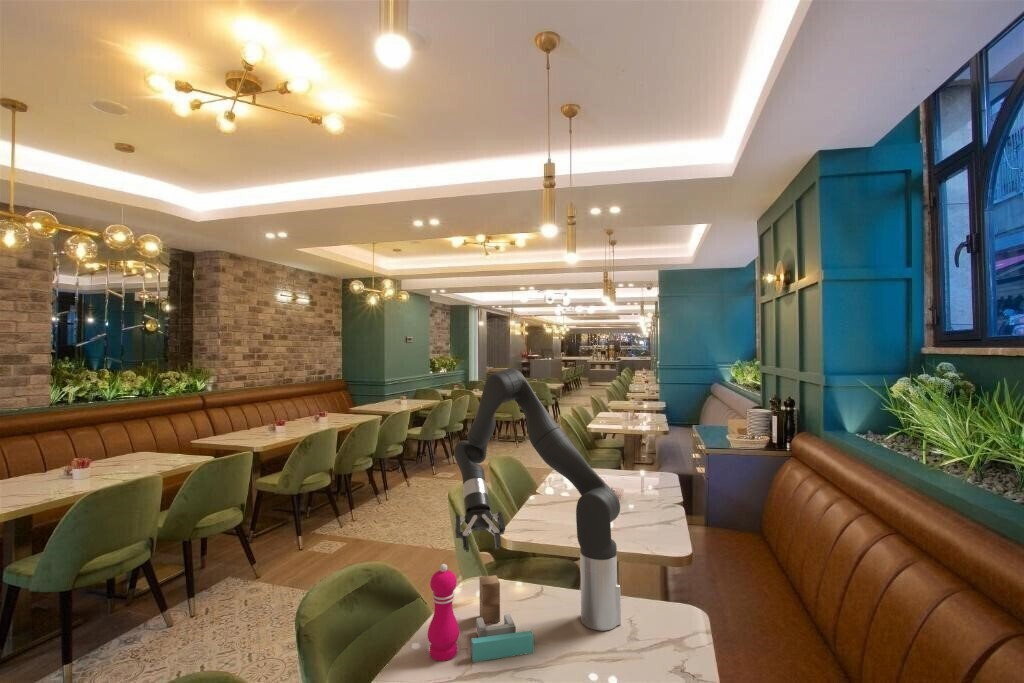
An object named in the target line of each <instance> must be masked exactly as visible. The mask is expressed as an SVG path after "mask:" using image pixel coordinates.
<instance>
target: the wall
mask: <svg viewBox="0 0 1024 683" xmlns="http://www.w3.org/2000/svg"><path fill="white" fill-rule="evenodd" d="M534 639H535V638H534V634H533V631H532V630H526V631H519V632H518V631H517V632H516V633H509V634H502V635H495V636H487V637H480V638H479V637H475V638H471V660H472V662H473V663H475V662H476V661H477V662H482V661H481V660H483V661H489V660H488V659H490V660H495V658H497V659H502V657H504V658H508V657H507V656H510V657H514V656H513V655H517V656H520V655H519V654H524V655H526V654H525V653H530V654H534V653H533V652H535V651H534V647H535V645H534V644H535V643H534Z"/></svg>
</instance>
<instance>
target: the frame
mask: <svg viewBox="0 0 1024 683" xmlns="http://www.w3.org/2000/svg"><path fill="white" fill-rule="evenodd" d="M503 617H504V618H503V624H499V625H491V626H486V624H485V623H484V621H483V618H480V617H477V618H476V633H477V636H478V637H477V638H480V637H487V636H495V635H502V634H509V633H516V630H517V629H516V627H517V626H516V624H515V622H514V619H513V618H512V616H511V613H508V614H504V615H503Z"/></svg>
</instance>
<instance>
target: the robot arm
mask: <svg viewBox="0 0 1024 683" xmlns="http://www.w3.org/2000/svg"><path fill="white" fill-rule="evenodd" d="M511 401H515V403H517V404H518V406H519V407H520V409H521V410H522V412H523V413H524V416H525V419H526V426H527V427H526V429H527V434H528V439H529V442H530V444H531V446H532V447H533V448H534V450H535V451H536V452H537V454H538V455H539V456H540V458H541V459H542V460H543V461H544V463H545V464H546V465H548V466H549V467H550V468H552V469H553V470H554V471H556V472H557V473H559V474H560V475H562V476H563V477H564V478H565V479H566V480H568V481H569V482H570V483H571V484H572V485H573V486H574V487H575V489H576V490H577V491H578V493H579V495H580V497H579V498H578V500H577V503H576V509H575V520H576V536H577V542H578V545H579V547H580V549H579V550H580V553H579V556H580V558H579V560H580V619H581V624H582V625H584V627H586V628H589V629H591V630H594V631H609V630H613V629H614V628H616V627H617V626H620V625H622V608H621V606H622V604H621V602H622V600H621V595H622V594H621V586H620V584H619V583H618V560H617V559H618V558H617V557H618V555H617V554H618V553H617V551H618V550H617V549H618V546H617V544H616V541H615V540H614V539H613V538H612V530H611V529H612V527H611V523H612V522H614V521H615V520H616V519H617V518H618V516H619V515H620V512H621V503H620V500H619V498H618V495H617V494H616V493H615V491H614V490H613V489H612V488H611V487H610V486H609V485H608V484H607V483H606V482H605V481H604V479H602V477H600V475H598V473H597V472H596V471H595V470H594V469H593V468H592V467H591V465H590V464H589V463H588V461H586V459H585V458H584V456H583V455H582V454H581V452H580V451H579V450H578V449H577V448H576V446H575V445H574V444H573V442H572V441H571V439H570V438H569V437H568V435H567V434H566V433H565V432H564V430H563V429H562V428H561V426H560V425H559V424H558V423H557V422H556V420H555V419H554V418H553V417H552V416H551V414H550V413H549V412H548V410H547V409H546V407H545V406H544V404H543V403H542V402H541V401H540V399H539V398H538V396H537V394H536V393H535V391H534V390H533V388H532V386H531V384H530V383H529V382H528V380H527V379H526V377H525V376H524V375H523V373H522V372H521V371H520V370H518V369H516V368H514V367H511V368H510V367H509V368H506V369H502V370H499V371H496V372H493V373H491V374H490V375H489V376H488V377H487V378H486V380H485V382H484V386H483V389H482V393H481V398H480V401H479V406H478V410H477V412H476V415H475V418H474V420H473V421H472V424H471V426H470V428H469V430H468V432H467V435H466V436H467V440H459V441H458V442H456V444H455V445H454V449H453V453H454V454H453V455H454V459H455V462H456V464H457V466H458V468H459V471H460V474H461V477H462V485H463V486H462V488H463V489H462V490H463V491H462V495H463V496H462V498H463V503H464V504H463V505H464V513H465V515H463V516H462V515H461V516H460V514H456V515H455V519H454V522H455V524H454V525H455V526H454V527H455V529H454V530H455V533H454V535H455V538H456V539H460V540H461V541H462V548H463V549H462V550H463V551H465V553H469V551H470V546H469V535H470V534H471V532H472V531H474V532H477V531H486V530H487V531H488V532H489V533H491V534H492V535H493V536H494V537H493V540H494V547H495V550H499V548H500V547H501V544H502V541H501V536H502V535H504V534H505V530H506V526H505V521H504V516H503V513H502V511H497V513H492V511H491V504H490V498H489V497H490V496H489V491H488V487H487V483H486V476H485V470H484V467H483V466H482V465H480V464H482V463H483V462H484V461H485V460H486V458H487V450H488V445H489V444H488V443H489V441H490V439H491V437H492V435H493V434H494V431H495V429H496V425H497V424H496V422H497V421H496V416H495V414H496V412H497V410H498V409H499V408H500V406H501V405H502V404H506V403H509V402H511ZM493 519H494V520H495V522H497V526H498V527H497V526H496V524H495V523H494V522H493V521H492V520H493ZM463 522H464V523H465V524H466V527H465V529H464V530H463V531H461V525H462V524H463Z"/></svg>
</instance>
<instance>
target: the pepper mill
mask: <svg viewBox="0 0 1024 683" xmlns="http://www.w3.org/2000/svg"><path fill="white" fill-rule="evenodd" d="M457 583H458V582H457V576H456V574H455V573H454V572H453V571H451V570H449V569H448V565H447V564H446V563H441V565H440V566H439V570H437V571H435V573H434V574H432V576H431V578H430V583H429V585H430V590H431V591H432V601H433V602H434V612H433V616H432V619H431V621H430V623H429V626H428V630H427V640H428V642H429V643H430V645H429V655H430V658H432V660H434V661H439V662H444V661H445V662H446V661H448V660H451V659H453V658H454V657H456V655H457V653H458V643H457V641H458V639H459V638H460V627H459V623H458V621H457V618H456V617H455V613H454V609H453V608H454V607H453V603H454V602H453V601H454V600H455V591H454V590H455V589H456V588H457Z"/></svg>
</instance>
